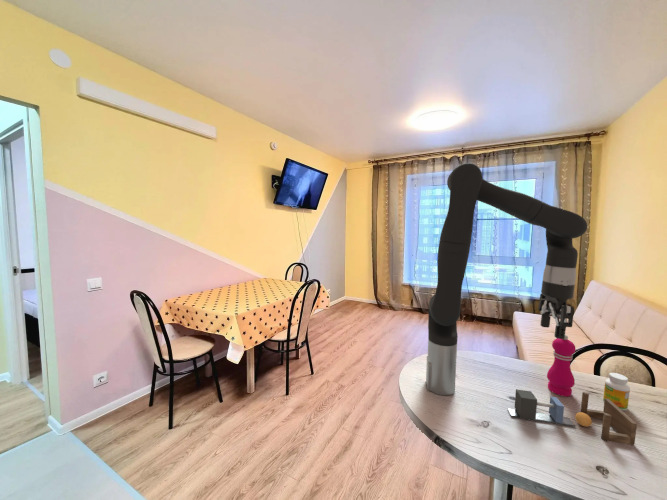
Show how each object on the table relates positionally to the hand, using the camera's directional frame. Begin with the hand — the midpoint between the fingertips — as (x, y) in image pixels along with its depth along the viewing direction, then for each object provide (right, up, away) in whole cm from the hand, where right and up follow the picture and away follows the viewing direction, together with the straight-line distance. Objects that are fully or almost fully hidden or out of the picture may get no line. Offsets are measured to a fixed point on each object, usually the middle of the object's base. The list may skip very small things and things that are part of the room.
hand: (551, 332), depth 83 cm
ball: (+4, -23, -7) cm, 24 cm away
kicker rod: (-7, -23, -4) cm, 25 cm away
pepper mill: (+10, -23, +9) cm, 27 cm away
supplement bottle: (+21, -24, +2) cm, 32 cm away
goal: (+9, -25, -8) cm, 27 cm away
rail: (-6, -24, -4) cm, 25 cm away
